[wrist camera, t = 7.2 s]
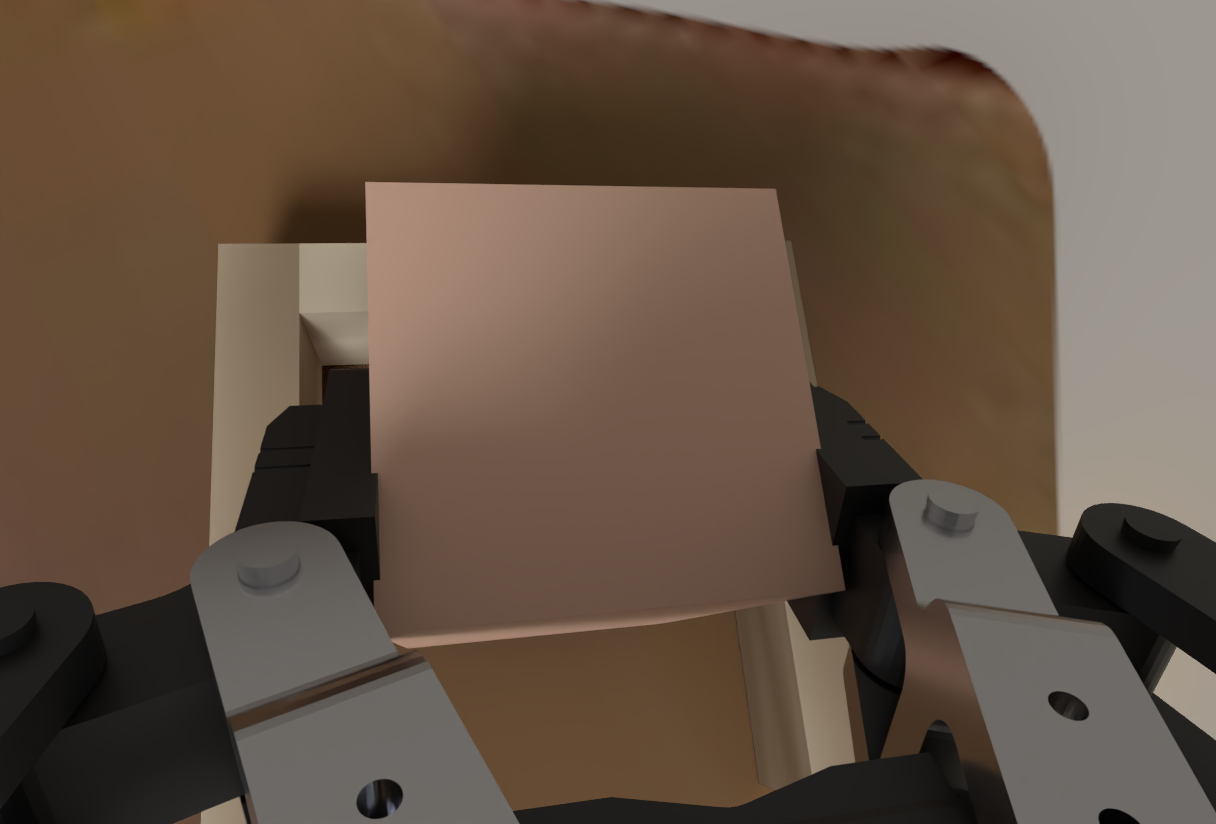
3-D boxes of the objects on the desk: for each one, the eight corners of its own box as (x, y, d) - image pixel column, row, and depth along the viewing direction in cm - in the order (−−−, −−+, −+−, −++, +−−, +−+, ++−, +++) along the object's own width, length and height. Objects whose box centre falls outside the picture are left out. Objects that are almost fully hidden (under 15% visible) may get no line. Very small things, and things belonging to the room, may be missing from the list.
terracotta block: (407, 648, 16) (375, 633, 8) (399, 396, 17) (365, 181, 9) (663, 623, 17) (845, 590, 9) (636, 387, 18) (775, 189, 10)
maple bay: (244, 858, 16) (198, 901, 13) (253, 306, 19) (218, 243, 16) (823, 774, 18) (891, 794, 15) (746, 297, 21) (791, 240, 19)
